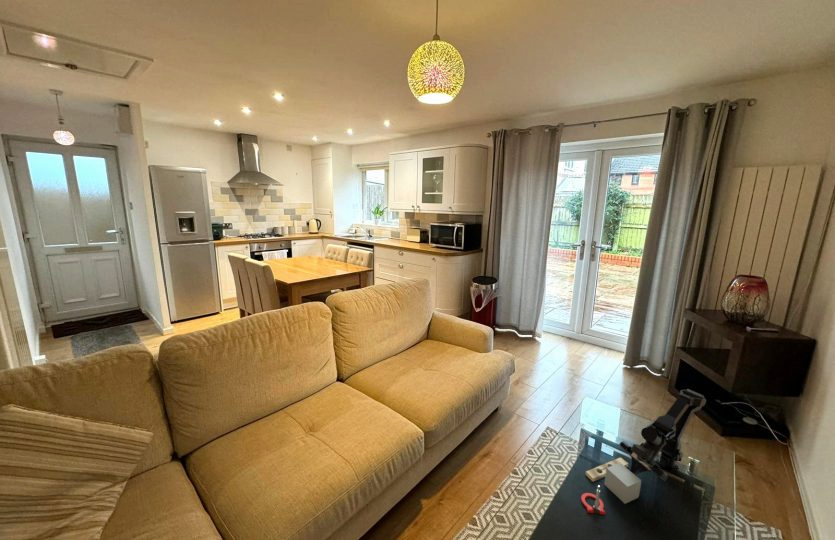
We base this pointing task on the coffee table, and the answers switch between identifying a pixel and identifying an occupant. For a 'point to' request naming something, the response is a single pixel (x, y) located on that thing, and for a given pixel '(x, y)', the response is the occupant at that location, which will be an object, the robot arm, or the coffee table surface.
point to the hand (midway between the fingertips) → (630, 475)
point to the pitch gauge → (603, 469)
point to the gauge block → (622, 482)
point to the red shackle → (598, 506)
